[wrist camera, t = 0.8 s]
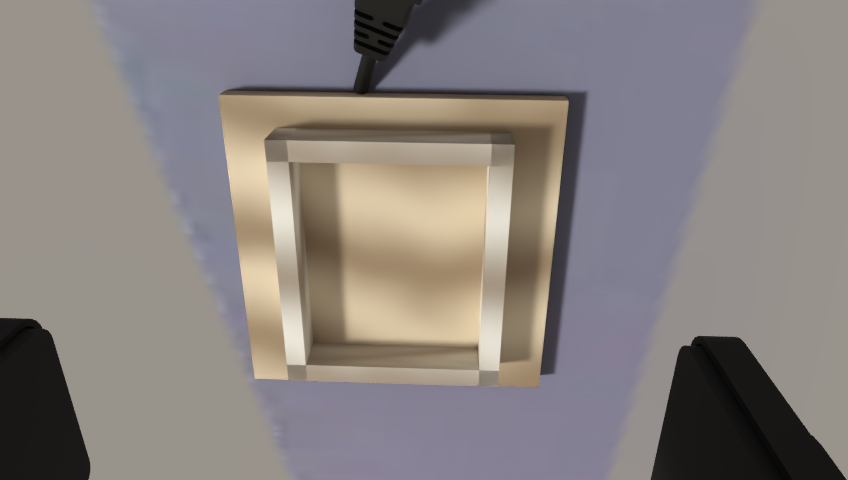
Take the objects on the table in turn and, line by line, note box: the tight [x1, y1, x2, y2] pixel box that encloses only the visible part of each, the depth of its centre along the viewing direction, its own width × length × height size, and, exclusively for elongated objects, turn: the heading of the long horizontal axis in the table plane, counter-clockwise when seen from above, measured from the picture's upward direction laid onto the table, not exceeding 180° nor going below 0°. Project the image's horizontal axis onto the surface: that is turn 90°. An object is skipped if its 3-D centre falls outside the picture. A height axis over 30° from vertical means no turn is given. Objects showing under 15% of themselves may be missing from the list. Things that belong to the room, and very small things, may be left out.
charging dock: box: [218, 90, 569, 387], centre depth 32 cm, size 16×16×3 cm
